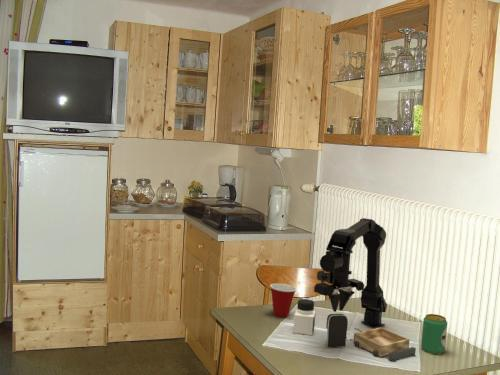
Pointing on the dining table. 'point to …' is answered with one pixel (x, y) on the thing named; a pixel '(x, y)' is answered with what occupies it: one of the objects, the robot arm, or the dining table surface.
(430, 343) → the beverage can
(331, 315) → the battery charger
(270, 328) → the dining table surface
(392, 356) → the rails
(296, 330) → the medicine bottle
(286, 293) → the plastic cup
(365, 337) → the shallow wooden tray
